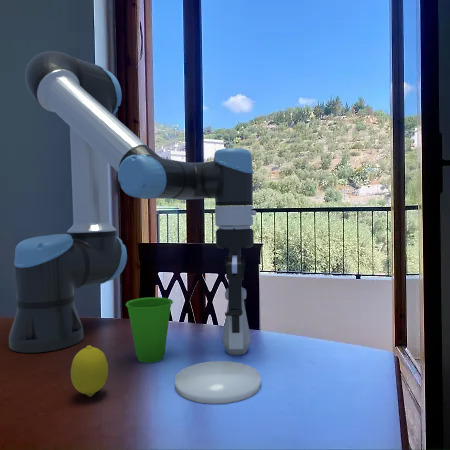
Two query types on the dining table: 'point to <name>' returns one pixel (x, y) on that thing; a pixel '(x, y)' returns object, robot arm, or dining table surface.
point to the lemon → (89, 370)
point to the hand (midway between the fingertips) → (236, 342)
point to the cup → (149, 326)
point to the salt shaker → (245, 329)
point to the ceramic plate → (217, 382)
